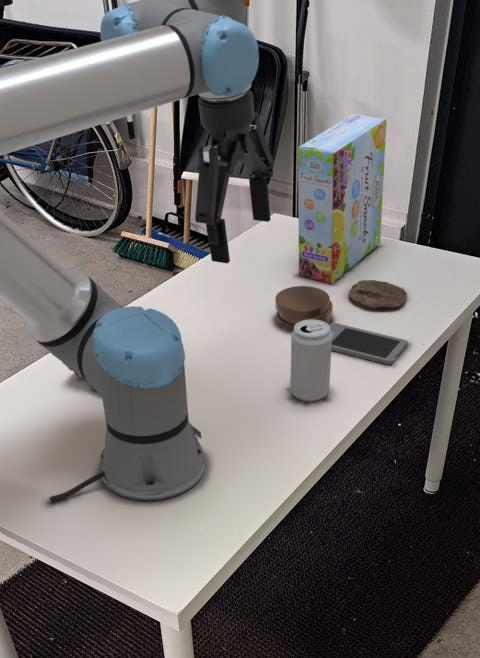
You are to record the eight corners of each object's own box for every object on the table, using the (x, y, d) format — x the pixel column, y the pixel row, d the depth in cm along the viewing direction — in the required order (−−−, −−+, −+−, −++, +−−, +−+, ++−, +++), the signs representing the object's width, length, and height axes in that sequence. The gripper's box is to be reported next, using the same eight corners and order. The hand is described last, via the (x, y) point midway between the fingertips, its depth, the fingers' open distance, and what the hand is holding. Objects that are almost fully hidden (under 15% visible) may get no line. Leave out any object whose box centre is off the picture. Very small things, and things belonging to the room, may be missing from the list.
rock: (406, 287, 169) (408, 274, 168) (406, 313, 160) (407, 300, 159) (350, 283, 171) (351, 271, 169) (346, 309, 162) (347, 296, 160)
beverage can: (284, 386, 142) (285, 321, 134) (320, 380, 144) (323, 314, 136) (298, 406, 138) (299, 340, 130) (335, 399, 139) (338, 333, 131)
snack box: (345, 237, 187) (351, 111, 170) (381, 245, 183) (391, 117, 166) (294, 276, 174) (296, 143, 157) (332, 285, 170) (338, 151, 153)
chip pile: (308, 339, 154) (308, 316, 151) (264, 322, 159) (264, 300, 156) (342, 318, 160) (344, 295, 157) (299, 302, 165) (300, 280, 162)
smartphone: (408, 344, 152) (409, 340, 151) (390, 365, 146) (391, 361, 146) (332, 325, 158) (332, 321, 157) (312, 345, 152) (312, 341, 152)
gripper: (203, 130, 107) (224, 283, 122) (289, 62, 122) (298, 206, 137) (153, 126, 110) (180, 276, 125) (242, 60, 125) (257, 201, 140)
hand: (242, 240), depth 131 cm, fingers open, 13 cm apart
